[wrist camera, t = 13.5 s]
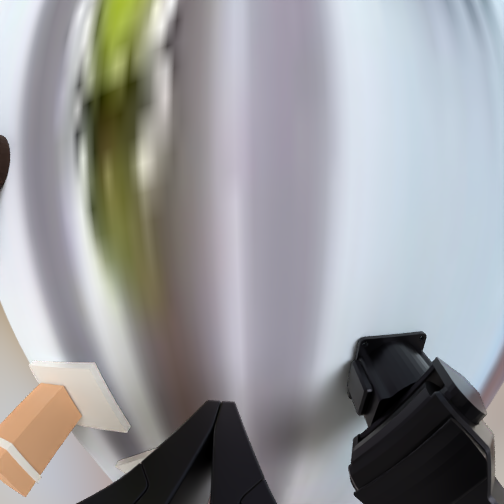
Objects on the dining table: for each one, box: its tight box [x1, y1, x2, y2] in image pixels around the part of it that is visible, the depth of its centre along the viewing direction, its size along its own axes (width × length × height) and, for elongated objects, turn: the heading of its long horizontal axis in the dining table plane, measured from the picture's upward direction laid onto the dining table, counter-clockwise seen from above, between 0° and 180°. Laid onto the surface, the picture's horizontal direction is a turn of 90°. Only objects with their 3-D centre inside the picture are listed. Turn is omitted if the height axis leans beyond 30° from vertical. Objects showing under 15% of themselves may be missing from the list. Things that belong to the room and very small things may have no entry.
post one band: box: [0, 383, 82, 497], centre depth 17 cm, size 5×5×14 cm
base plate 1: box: [29, 360, 131, 433], centre depth 24 cm, size 11×9×1 cm
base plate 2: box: [115, 448, 156, 474], centre depth 27 cm, size 11×9×1 cm
